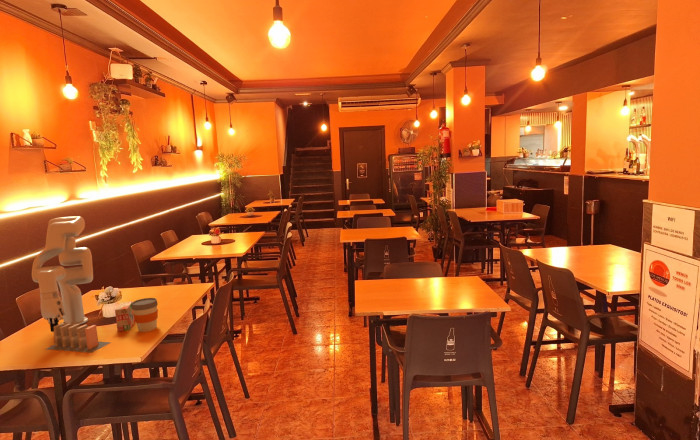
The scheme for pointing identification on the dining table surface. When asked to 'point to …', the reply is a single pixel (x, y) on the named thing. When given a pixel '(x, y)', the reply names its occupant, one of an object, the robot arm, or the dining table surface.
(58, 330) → the cream domino
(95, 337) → the terracotta domino
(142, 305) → the reusable coffee cup
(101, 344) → the slate mat
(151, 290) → the dining table surface
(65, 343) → the cream domino
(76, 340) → the cream domino
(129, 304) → the stack of blocks
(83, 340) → the cream domino
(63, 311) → the robot arm
